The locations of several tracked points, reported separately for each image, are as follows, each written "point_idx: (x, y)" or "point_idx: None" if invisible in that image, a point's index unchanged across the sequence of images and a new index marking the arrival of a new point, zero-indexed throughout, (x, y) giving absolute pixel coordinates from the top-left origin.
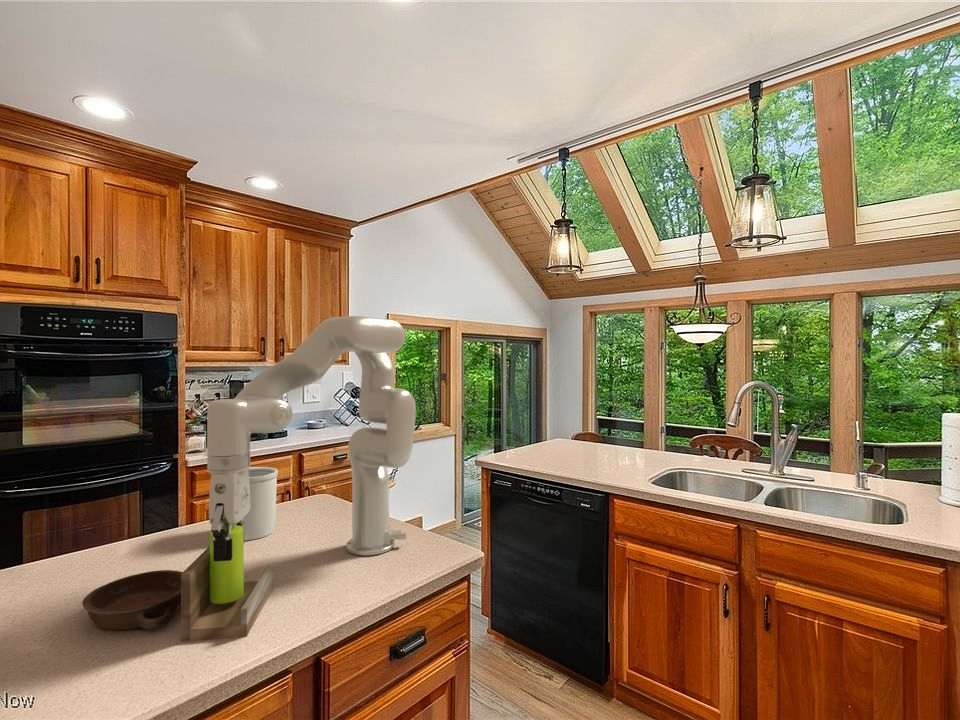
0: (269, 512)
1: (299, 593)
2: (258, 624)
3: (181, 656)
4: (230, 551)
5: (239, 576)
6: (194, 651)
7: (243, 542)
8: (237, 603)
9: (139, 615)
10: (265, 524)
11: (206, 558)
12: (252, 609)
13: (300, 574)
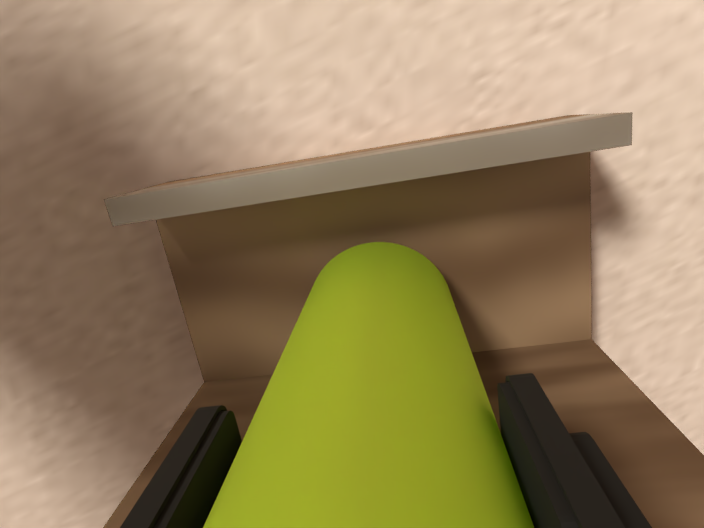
0: None
1: (190, 27)
2: (474, 108)
3: (674, 298)
4: (560, 426)
5: (404, 281)
6: (648, 270)
7: (193, 420)
8: None
9: None
10: None
11: None
12: (508, 129)
13: (4, 108)
